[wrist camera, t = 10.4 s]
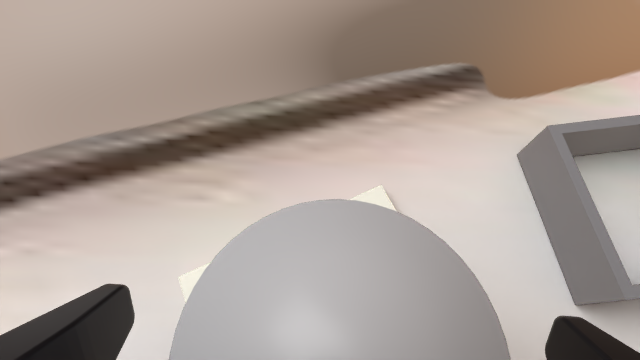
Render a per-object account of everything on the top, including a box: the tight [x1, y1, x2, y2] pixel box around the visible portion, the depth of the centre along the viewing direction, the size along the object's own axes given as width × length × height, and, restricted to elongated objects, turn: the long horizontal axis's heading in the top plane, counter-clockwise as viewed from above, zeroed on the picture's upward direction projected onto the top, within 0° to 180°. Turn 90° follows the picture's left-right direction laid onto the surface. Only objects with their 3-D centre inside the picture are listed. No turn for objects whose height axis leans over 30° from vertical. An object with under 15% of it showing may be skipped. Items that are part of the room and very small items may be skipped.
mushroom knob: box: [169, 199, 510, 360], centre depth 10 cm, size 5×5×11 cm
